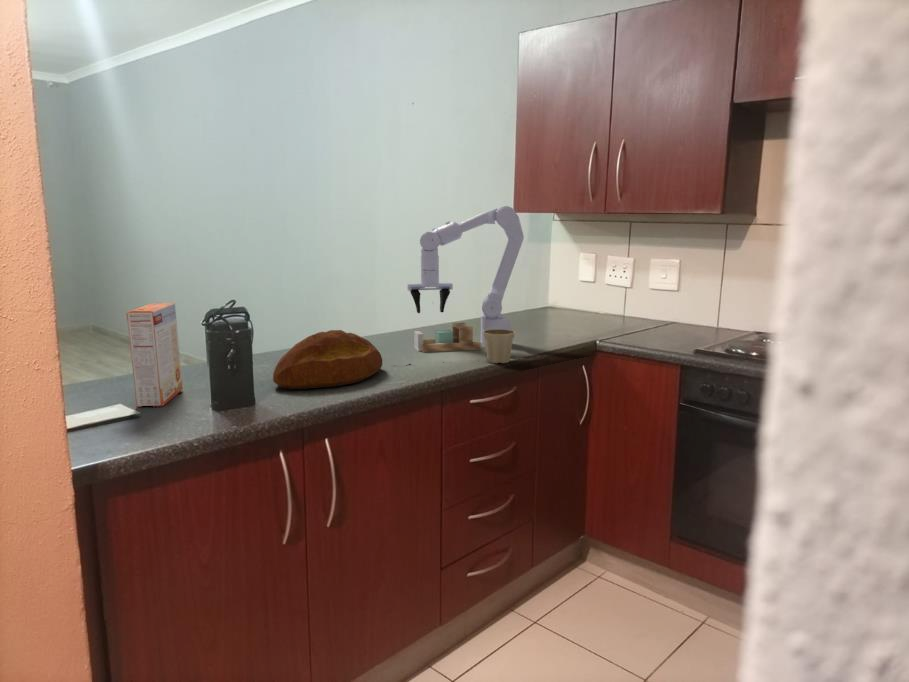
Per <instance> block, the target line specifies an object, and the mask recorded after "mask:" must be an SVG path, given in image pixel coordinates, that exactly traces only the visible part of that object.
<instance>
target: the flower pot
mask: <svg viewBox="0 0 909 682" xmlns="http://www.w3.org/2000/svg"><path fill="white" fill-rule="evenodd" d="M483 333H484V338H485V342H486V344H485V348H486V356H487V363H490V362H491V364H498V363H501V364H507V363H508V364H509V362H510V360H511V352H512V346H513V342H514V339H515V334H516V333H517V332H516V331H515V330H512V329H511V330H505V329H491V330H484V331H483Z"/></svg>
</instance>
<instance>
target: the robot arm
mask: <svg viewBox="0 0 909 682" xmlns="http://www.w3.org/2000/svg"><path fill="white" fill-rule="evenodd" d="M496 222H497V224H498V226H499V227H501V229H503V231H504V233H505V235H506V236H507V241H506V245H505V248H504V251H503V253H502V256H501V259H500V262H499V265H498V268H497V270H496V273H495V276H494V277H493V278H494V279H493V281H492V284H491V287H490V289H489V292H488V295H486V296H485V297H484V299H483V301H482V306H481V311H482V313H483V314H481V315H480V342H481V344H485V345H486V342H485V338H484V333H483V331H484V330H491V329H505V330H512V324H511V318H509V317H507V316H504V315H503V314H502V311H503V305H502V302H503V299H504V295H505V292H506V288H507V287H508V284H509V280H510V277H511V276H512V272H513V269H514V266H515V264H516V262H517V259H518V256H519V253H520V250H521V247H522V244H523V242H524V238H525V237H524V232H523V229H522V228H523V227H522V225H521V220H520V217H519V215H518V214H517V212H516V210H515V209H514V208H513V207H511V206H509V205H508V206H507V205H505V206H501V207H500V208H495V209H490V210H487V211H486V210H485V211H484V212H481V213H480V214H477V215H475V216H473V217H470V218H468V219H466V220H463V221H462V222H459V223H458V222H456V221H451V222H450V221H449V220H448V221H446V222H445V224H444V225H442V226H439V227H437V228H436V227H433V228H432V229H431V231H426V232H425V233H423V234H422V235H421V237H420V238H419V244H420V246H421V249H420V254H421V255H420V283H407V284H406V290H407V291H408V292H410V293H409V294H410V295H411V296H412V299H413V302H414V304H415V305H414V306H415V309H416V313H417V314H421V292H420V291H437V290H438V291H439V292H438V293H439V312H440V313H444V312H445V311H444V310H445V305H446V303H447V300H448V298H449V295H450V294H451V290H453V287H454V286H453V283H452V282H448V283H447V282H440V270H439V269H440V267H439V266H440V265H439V263H440V258H439V257H440V256H439V246H441V247H442V246H445V245H446V246H447V245H449V244H450V243H453V242H455V241H458V240H459V239H461V238H462V235H463V233H465V232H468V231H470V230H472V229H475V228H478V227H480V226H483V225H485V224H487V225H490V224H491V225H495V224H496Z"/></svg>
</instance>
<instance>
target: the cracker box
mask: <svg viewBox="0 0 909 682" xmlns="http://www.w3.org/2000/svg"><path fill="white" fill-rule="evenodd" d="M126 320H127V321H126V322H127V332H128V340H129V348H130V357H131V358H130V359H131V367H132V368H131V370H132V377H133V388H134V396H135V406H136V408H143V407H142V406H153V407H154V408H155V406H156V407H164V406H165V405H166V404H168V403H169V402H170V401H171V400H172V399H173V397H174V396H175V395H176V396H177V395H179V394H180V393H181V392H182V391H183V390H182V389H184V388H183V377H182V367H181V356H180V355H181V354H180V346H179V345H180V344H179V343H180V342H179V334H178V323H177V322H178V320H177V311H176V304H175V302H155V303H153V302H152V303H149V304H146V305H143V306H141V307H138V308H137V307H136V309H135V308H134V309H132V310H129V311H126ZM181 390H182V391H181ZM180 391H181V392H180ZM179 392H180V393H179ZM178 393H179V394H178ZM176 396H175V397H176ZM175 397H174V398H175Z"/></svg>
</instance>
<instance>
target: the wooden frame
mask: <svg viewBox="0 0 909 682" xmlns="http://www.w3.org/2000/svg"><path fill="white" fill-rule="evenodd" d="M451 331H452V332H453V342H454V343H438V344H435V338H423V344H422V351H421V352H422V353H432V352H434V353H435V352H453V351H471V350H473V351H475V350H476V351H477V350H481V345H482V343H481V341H473V339H474V337H473V336H474V332H473V331H474V328H473V326H472V325H469V324H467V323H466V322H452V323H451Z"/></svg>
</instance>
